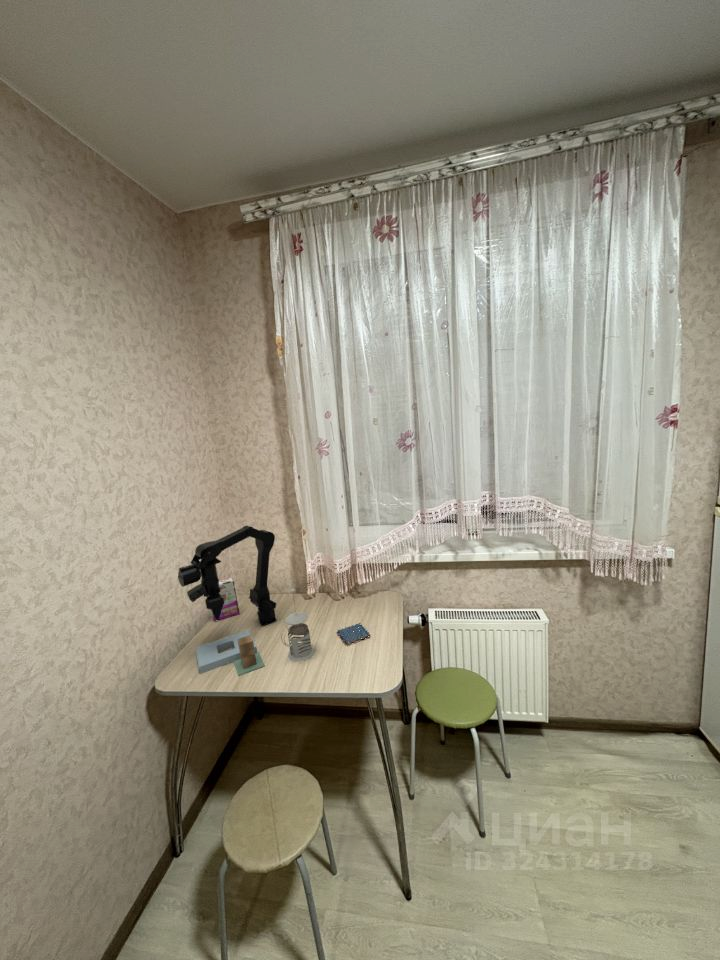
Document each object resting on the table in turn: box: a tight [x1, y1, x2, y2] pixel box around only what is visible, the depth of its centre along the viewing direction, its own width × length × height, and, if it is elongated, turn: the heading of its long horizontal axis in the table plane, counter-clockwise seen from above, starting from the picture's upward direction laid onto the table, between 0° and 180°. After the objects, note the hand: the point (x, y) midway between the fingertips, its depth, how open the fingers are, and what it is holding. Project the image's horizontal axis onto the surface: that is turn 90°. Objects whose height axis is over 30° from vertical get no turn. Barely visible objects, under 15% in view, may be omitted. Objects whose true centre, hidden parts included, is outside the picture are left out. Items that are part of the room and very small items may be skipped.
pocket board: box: [195, 629, 258, 674], centre depth 143 cm, size 20×14×2 cm
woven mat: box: [336, 622, 371, 647], centre depth 146 cm, size 10×11×2 cm
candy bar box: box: [211, 576, 240, 622], centre depth 170 cm, size 11×5×16 cm, turn 117°
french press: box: [280, 588, 316, 662], centre depth 136 cm, size 10×12×25 cm
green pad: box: [233, 651, 265, 677], centre depth 135 cm, size 9×9×1 cm
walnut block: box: [238, 634, 257, 669], centre depth 134 cm, size 4×4×9 cm
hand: (216, 614), depth 147 cm, fingers open, 9 cm apart
